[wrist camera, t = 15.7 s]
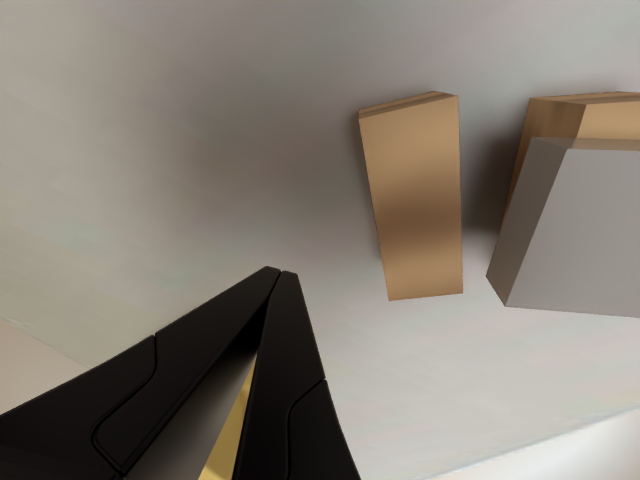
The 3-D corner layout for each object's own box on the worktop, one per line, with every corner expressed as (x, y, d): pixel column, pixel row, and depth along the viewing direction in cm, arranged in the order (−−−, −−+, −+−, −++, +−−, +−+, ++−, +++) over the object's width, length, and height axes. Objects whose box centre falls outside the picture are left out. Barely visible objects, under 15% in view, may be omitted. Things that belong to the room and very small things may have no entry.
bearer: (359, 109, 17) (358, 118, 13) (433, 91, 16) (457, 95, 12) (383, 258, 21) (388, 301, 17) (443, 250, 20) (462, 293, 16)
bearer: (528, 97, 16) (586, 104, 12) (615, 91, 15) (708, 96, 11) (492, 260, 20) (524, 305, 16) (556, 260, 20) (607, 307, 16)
